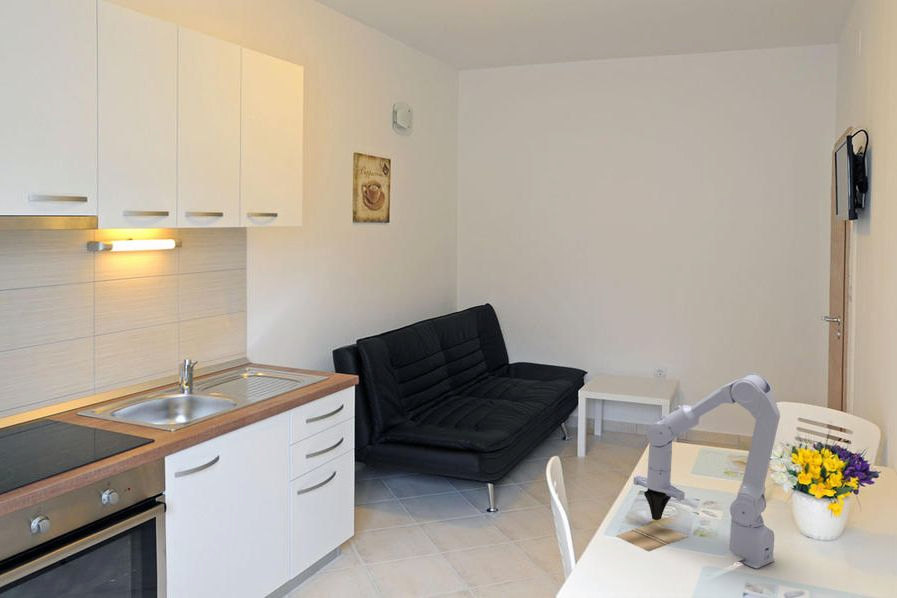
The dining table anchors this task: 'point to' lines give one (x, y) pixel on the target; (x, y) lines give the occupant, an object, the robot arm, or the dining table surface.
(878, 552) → the dining table surface
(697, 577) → the dining table surface
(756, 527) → the robot arm
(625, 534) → the laid board
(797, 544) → the dining table surface
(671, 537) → the plank
